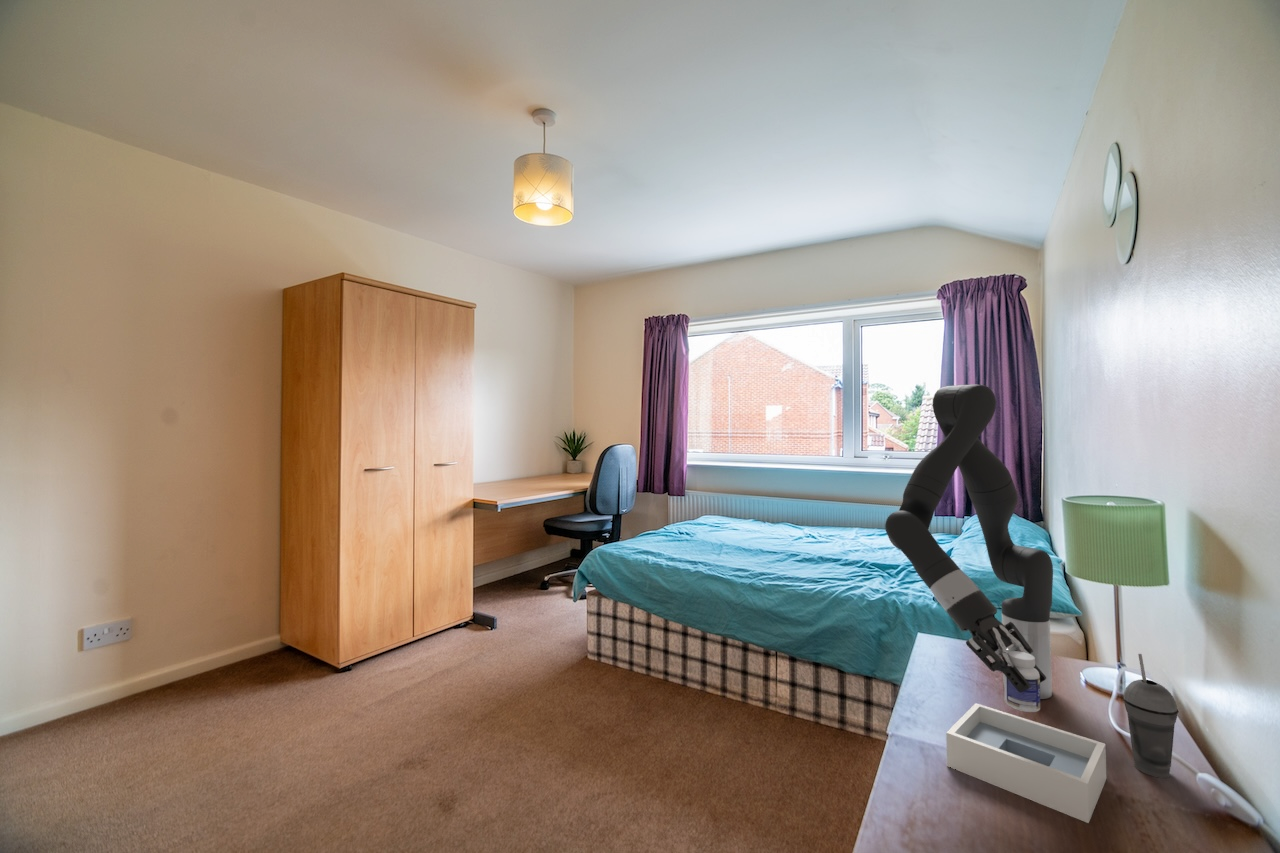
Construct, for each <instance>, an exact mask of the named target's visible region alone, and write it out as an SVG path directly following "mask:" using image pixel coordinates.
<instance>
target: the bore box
mask: <svg viewBox="0 0 1280 853" xmlns="http://www.w3.org/2000/svg"><path fill="white" fill-rule="evenodd" d="M945 734H946V736H945V738H946V739H945V740H946V766H947V767H948V768H950V767H951V769H952V770H955V769H956V770H955V771H958V772H961V773H962V774H966V775H968V776H970V777H973V778H975V779H978V780H980V781H983V782H985V783H988V784H990V785H992V786H996V787H997V788H1000V789H1003V790H1005V791H1007V792H1009V793H1012V794H1016V795H1018V796H1019V797H1022V798H1025V799H1027V800H1031V801H1033V802H1035V803H1037V804H1039V805H1042V806H1044V807H1047V808H1050V809H1052V810H1055V811H1057V812H1060V813H1062V814H1065V815H1066V816H1070V817H1071V818H1073V819H1076V820H1079V821H1082V822H1084V823H1086V824H1090V821H1091V819H1092V816H1093V813H1094V810H1095V809H1096V805H1097V804H1098V800H1099V799H1100V796H1101V793H1102V791H1103V788H1104V786H1105V783H1106V781H1107V756H1106V755H1107V753H1106V752H1107V751H1106V748H1107V747H1106V743H1104V742H1101V741H1098V740H1095V739H1092V738H1089V737H1085V736H1082V735H1079V734H1075V733H1073V732H1070V731H1066V730H1063V729H1060V728H1056V727H1053V726H1050V725H1046V724H1044V723H1040V722H1037V721H1034V720H1031V719H1029V718H1024V717H1021V716H1019V715H1015V714H1011V713H1009V712H1005V711H1001V710H999V709H996V708H992V707H989V706H986V705H984V704H981V703H976V702H975V703H974V704H973V705H972V706H971V707H970V708H969V709H968V710H967V711H966V712H965V713H964V714H963V715H962V716H961V717H960V718H959V719H958V720H957V721H956V722H955V723H954V724H953V725H952V726H951V727H950V728H949V730H947V731H946V733H945Z"/></svg>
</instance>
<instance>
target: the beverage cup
mask: <svg viewBox="0 0 1280 853" xmlns="http://www.w3.org/2000/svg"><path fill="white" fill-rule="evenodd" d="M1137 654H1138V662H1139V667H1140V672H1141V677H1142V678H1141V679H1137V680H1133V681H1131V682H1129V684H1128V685H1127V686H1126V687H1125V689H1124V692H1123V696H1122V700H1123V703H1124V706H1125V711H1126V714H1127V721H1128V728H1129V736H1130V743H1131V744H1130V745H1131V753H1132V758H1133V761H1134V766H1135V768H1136V769H1137V770H1138V771H1140V772H1142V773H1143V774H1145V775H1149V776H1152V777H1155V778H1162V779H1164V778H1165V779H1166V778H1169V777H1170V772H1171V767H1172V759H1173V758H1172V756H1173V747H1174V745H1173V744H1174V736H1175V735H1174V733H1175V724H1176V722H1177V718H1178V713H1179V708H1178V704H1177V702H1176V700H1175V698H1174V696H1173V695H1172V693H1171V692H1170V691H1169V690H1168V689H1167V688H1166V687H1165V686H1164V685H1162V684H1160V683H1158V682H1156V681H1154V680H1150V679H1147V676H1146V671H1145V664H1144V659H1143V655H1142V653H1137Z"/></svg>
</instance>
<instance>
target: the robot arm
mask: <svg viewBox="0 0 1280 853" xmlns="http://www.w3.org/2000/svg"><path fill="white" fill-rule="evenodd" d="M996 408H997V399H996V395H995V393H994V391H993V390H992V389H991V388H990V387H988V386H987V385H985V384H974V383H973V384H959V385H958V384H957V385H947V386H943V387H940V388H939V389H937V390H936V391H935V393H934V394H933V398H932V410H933V413H934V417H935V420H936V421H937V424H938V425H939V428H940V430H941V431H942V434H943V436H944V437H945V438H944V439H942V441H941V442H940V443H939V444H937V445H936V446H935V447H934V448H933V449H932V450H930V452H929V453H928V454H927V455H925V456H924V457H923V458H922V459H921V460H920V461H919V463H918V464H917V466H916V467H915V468H914V470H913V472H912V474H911V476H910V478H909V480H908V481H907V484H906V486H905V489H904V491H903V494H902V502H901V505H900V507H899V509H898V510H896V511H893V512H891V514H889V515H888V516H887V518H886V520H885V525H884V526H885V527H884V529H885V532H886V533H885V534H886V535H887V537H888V539H889V541H890V543H891V544H892V546H894V548H896V549H898V550H900V551H901V552H902V553H903V555H904V556H905V557H906V558H907V559H908V561H910V563H911V564H912V566H913V569H914V570H915V572H916V573H917V575H918V576H919V578H920V579H921V580H922V582H923V583H925V585H926V587H927V588H928V589H929V590H930V591H931V593H932V595H933V596H934V598H935V600H936V601H937V602H938V603H939V605H940V606H941V607H942V608H943V609H944V611H945V612H946V613H947V615H948V616H949V617H950V618H951V620H953V622H954V624H956V626H957V627H958V629H959V630H960V631H962V632H969V633H970V634H971V638H969V639H968V640H966V641H965V645H966V646H967V647H968V648H969V649H970V651H972V653H974V655H976V656H977V658H979V660H980V661H982V662H983V664H985V666H986V667H987V668H988V669H989V670H990V671H991V672H995V671H998V672H999V673H1002V675H1003V676H1002V678H1003V679H1002V680H1003V682H1002V683H1003V686H1004V675H1005V676H1006V677H1007V678H1008V679H1009V681H1010V682H1011V683H1012V684H1013V686H1014V687H1015V688H1016V689H1017V690H1018V691H1019V692H1021V693H1022V692H1024V691H1026V690H1027V689H1029V688H1030V687H1031V686H1030V684H1029V683H1028V682H1027V680H1026V679H1025V678H1024V677H1023V676H1022V674H1021V673H1020V672H1019V671H1018V669H1017V668H1016V667H1015V666H1014V667H1012V666H1013V664H1012V662H1011V660H1010V659H1009V657H1008V652H1010V651H1019V652H1025V653H1028V654H1031V655H1033V656H1034V657H1035V667H1034V668H1035V669H1036V670H1037V671H1038V672H1039V675H1040V700H1046V699H1049V698H1052V696H1053V692H1052V691H1053V688H1052V655H1051V654H1052V653H1051V652H1052V647H1051V617H1050V616H1051V610H1052V606H1053V605H1052V604H1053V587H1054V586H1053V584H1054V578H1053V577H1054V567H1053V566H1054V565H1053V561H1052V557H1051V556H1050V554H1049V553H1048V552H1046V551H1045V550H1043V549H1038V548H1033V547H1028V546H1023V545H1016V544H1015V543H1014V542H1013V540H1012V538H1011V535H1010V531H1009V523H1010V520H1011V519H1012V517H1013V515H1014V513H1015V511H1016V508H1017V505H1018V499H1019V498H1018V497H1019V496H1018V491H1017V489H1016V486H1015V483H1014V480H1013V476H1012V475H1011V473H1010V471H1009V469H1008V467H1007V466H1006V465H1005V463H1003V462H1002V461H1001V460H1000V458H999V457H998V456H997V455H995V454H994V452H992V451H991V450H990V449H989V448H988V447H987V446H986V445H985V444H984V443H983V442H982V441H981V440H980V439H979V437H981V435H982V433H984V431H985V430H986V428H987V426H988V425H989V424H990V422H991V420H992V419H993V417H994V414H995V412H996ZM957 468H959V471H960V473H961V477H962V479H963V482H964V485H965V488H966V491H967V493H968V496H969V499H970V501H971V504H972V506H973V508H974V512H975V514H976V516H977V518H978V523H979V525H980V528H981V531H982V534H983V538H984V541H985V546H986V550H987V554H988V558H989V562H990V566H991V568H992V571H993V573H994V574H995V577H996V578H997V579H998V580H1000V581H1001V582H1003V583H1006V584H1009V585H1013V586H1018V587H1023V593H1022V594H1023V595H1022V597H1011V598H1007V599H1006V598H1005V599H1004V600H1003V601H1002V602H1001V621H1000V620H998V619H997V618H996V616H995V615H996V614H997V613H998V609H997V607H996V606H995V604H993V603H992V602H991V601H990V599H989V598H988V597H987V596H986V595H985V594H984V592H983V591H982V590H981V589H980V588H979V587H978V585H977V584H976V583H975V582H974V581H973V580H972V579H971V578H970V577H969V576H968V575H967V574H966V573H965V572H964V571H963V570H962V569H961V568H960V567H959V566H958V565H957V564H956V562H955V561H954V560H953V559H952V558H951V556H950V555H949V554H948V553H947V552H946V551H944V549H943V548H942V547H941V546H940V544H939V543H938V541H937V540H936V538H935V537H934V536H933V534H932V533H931V532H930V530H929V528H930V526H931V523H932V521H933V517H934V513H935V511H936V508H937V507H938V505H939V503H940V502H941V500H942V498H943V496H944V494H945V491H946V489H947V487H948V485H949V483H950V482H951V480H952V477H953V476H954V473H955V472H956V470H957Z"/></svg>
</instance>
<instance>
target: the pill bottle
mask: <svg viewBox="0 0 1280 853" xmlns="http://www.w3.org/2000/svg"><path fill="white" fill-rule="evenodd" d="M1008 657H1009V659H1010V660H1011V662H1012V664H1013V666H1012V667H1014V666H1015V667H1016V668H1017V669H1018V671H1019V672H1020V673H1021V674H1022V676H1023V677H1024V678H1025V679H1026V680H1027V682H1028V683H1029V684H1030V686H1031V687H1030V688H1029V689H1027V690H1026V691H1024V692H1022V693H1021V692H1019V691H1018V690H1017V689H1016V688H1015V687H1014V686H1013V684H1012V683H1011V682H1010V681H1009V679H1008V678H1007V677H1006V676H1005V675H1004V685H1003V687H1004V688H1003V691H1004V696H1003V698H1004V699H1003V700H1004V703H1006V705H1007V706H1009V707H1010V708H1012V709H1015V710H1017V711H1019V712H1020V711H1021V712H1026V713H1037V712H1039V711H1040V710H1041V699H1040V675H1039V672H1038V671H1037V670H1036V669H1035V668H1034V667H1035V657H1034V656H1033V655H1031V654H1028V653H1025V652H1019V651H1010V652H1008Z"/></svg>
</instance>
